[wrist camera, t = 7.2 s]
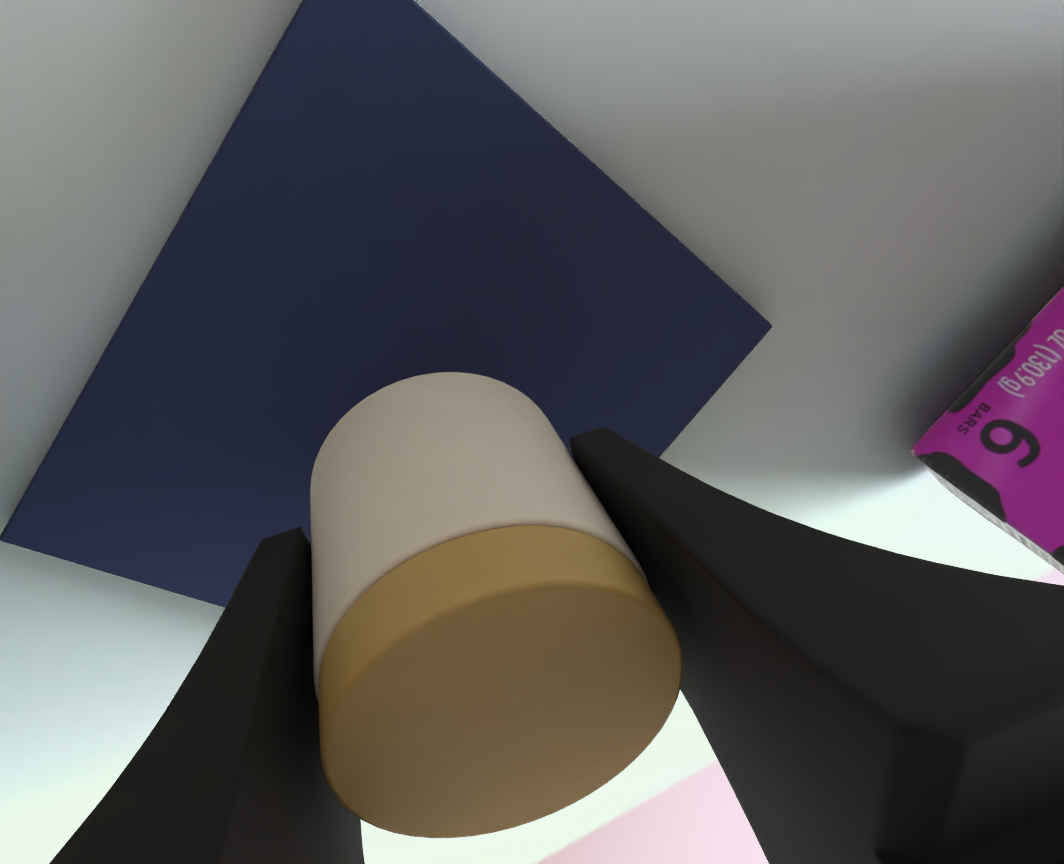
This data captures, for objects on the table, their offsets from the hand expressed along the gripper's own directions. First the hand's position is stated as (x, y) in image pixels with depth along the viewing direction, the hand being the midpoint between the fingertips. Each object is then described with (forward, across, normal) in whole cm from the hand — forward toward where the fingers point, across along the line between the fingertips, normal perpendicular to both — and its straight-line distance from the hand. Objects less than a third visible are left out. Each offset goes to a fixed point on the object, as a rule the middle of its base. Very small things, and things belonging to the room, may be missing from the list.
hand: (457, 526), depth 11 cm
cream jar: (+1, 0, 0) cm, 1 cm away
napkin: (+4, 0, 0) cm, 4 cm away
